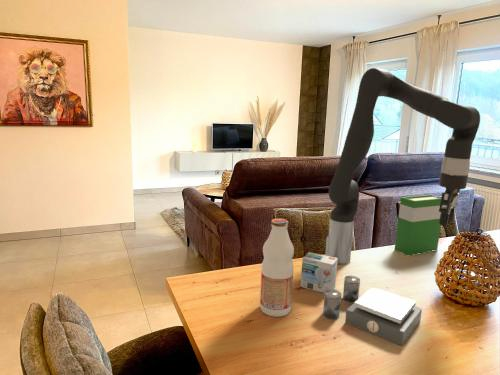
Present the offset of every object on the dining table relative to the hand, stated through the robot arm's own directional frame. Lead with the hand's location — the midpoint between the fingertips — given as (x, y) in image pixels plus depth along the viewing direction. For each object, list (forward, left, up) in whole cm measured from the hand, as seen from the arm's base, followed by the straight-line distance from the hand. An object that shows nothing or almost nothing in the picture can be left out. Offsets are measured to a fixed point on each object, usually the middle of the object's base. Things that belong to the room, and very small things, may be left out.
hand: (446, 222), depth 119 cm
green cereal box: (-18, +41, -26) cm, 52 cm away
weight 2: (-20, -21, -26) cm, 39 cm away
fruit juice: (-34, -43, -26) cm, 61 cm away
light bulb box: (-32, -21, -26) cm, 47 cm away
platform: (-7, -27, -21) cm, 35 cm away
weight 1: (-20, -34, -26) cm, 47 cm away
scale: (-7, -27, -26) cm, 38 cm away
